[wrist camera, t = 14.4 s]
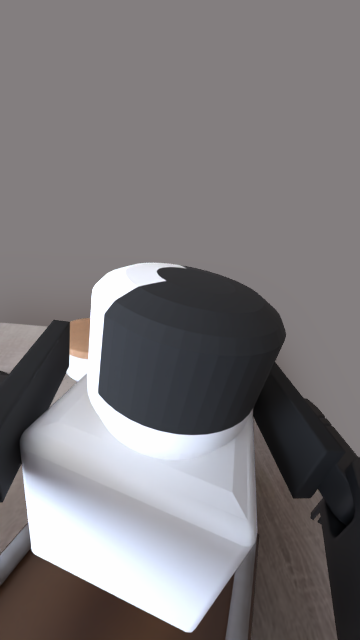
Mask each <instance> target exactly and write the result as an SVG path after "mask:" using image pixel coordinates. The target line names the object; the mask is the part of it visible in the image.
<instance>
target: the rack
mask: <svg viewBox="0 0 360 640" xmlns="http://www.w3.org/2000/svg"><path fill="white" fill-rule="evenodd" d="M258 544H259V534H258V533H257V536H256V541H255V543H254V545H253V546H252V548H251V549H250V551H249V552H248V554H247V555H246V556H245V558H244V559H243V561H242V562H241V564H240V565H239V567H238V568H237V569H236V571H235V572H234V574H233V575H232V577H231V578H230V580H229V581H228V582H227V584H226V585H225V587H224V588H223V590H222V591H221V593H220V594H219V595H218V597H217V598H216V600H215V601H214V603H213V604H212V606H211V607H210V608H209V610H208V611H207V613H206V614H205V616H204V617H203V619H202V620H201V621H200V623H199V624H198V626H197V627H196V629H195V630H193V631H192V632H185V631H183V630H181V629H179V628H177V627H175V626H173V625H171V624H169V623H167V622H165V621H163V620H161V619H159V618H158V617H156V616H154V615H152V614H150V613H148V612H146V611H144V610H142V609H140V608H138V607H136V606H134V605H132V604H130V603H128V602H126V601H125V600H123V599H121V598H119V597H117V596H115V595H113V594H111V593H109V592H107V591H105V590H103V589H101V588H99V587H97V586H95V585H93V584H92V583H90V582H88V581H86V580H84V579H82V578H80V577H78V576H76V575H74V574H72V573H70V572H68V571H66V570H64V569H62V568H60V567H59V566H57V565H55V564H53V563H51V562H49V561H47V560H45V559H43V558H41V557H39V556H37V555H35V554H34V553H33V552H32V548H31V540H30V531H29V522H28V523H27V524H26V525H25V526H24V528H23V529H22V530H21V531H20V532H19V533H18V534H17V536H16V537H15V538H14V539H13V540H12V541H11V542H10V543H9V545H8V546H7V547H6V548H5V549H4V550H3V551H2V552H1V554H0V640H251V631H252V618H253V606H254V594H255V581H256V569H257V556H258Z"/></svg>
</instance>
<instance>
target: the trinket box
mask: <svg viewBox="0 0 360 640" xmlns="http://www.w3.org/2000/svg"><path fill="white" fill-rule="evenodd" d="M90 320H91V318H84V319H78V320H75V321H71V322H70V360H69V368H68V370H67V372H66V373H67V374H68V375H69V376H70V377H71V378H73V379H74V380H76V381H77V382H78V381H79V380H80V379H81V378H82V377H83V376H84V375H85V374H86V373H88V356H89V338H90Z"/></svg>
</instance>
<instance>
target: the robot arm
mask: <svg viewBox="0 0 360 640" xmlns="http://www.w3.org/2000/svg"><path fill="white" fill-rule="evenodd" d="M69 360H70V322H66V321H58V320H53V321H52V323H51V324H50V325H49V326H48V327H47V329H46V330H45V331H44V332H43V334H42V335H41V336H40V337H39V338H38V340H37V341H36V342H35V343H34V344H33V346H32V347H31V348H30V349H29V351H28V352H27V353H26V354H25V355H24V357H23V358H22V359H21V360H20V362H19V363H18V364H17V365H16V366H15V368H14V369H13V370H12V371H11V373H10V374H9V375H1V374H0V502H3V500H4V498H5V496H6V494H7V492H8V490H9V488H10V486H11V484H12V482H13V480H14V478H15V476H16V474H17V472H18V470H19V468H20V466H21V464H22V461H21V452H20V438H21V435H22V434H23V433H24V431H25V430H26V429H27V428H28V427H29V426H30V425H31V424H33V423H34V422H35V421H36V420H37V419H38V418H39V417H40V416H41V415H42V414H43V413H44V412H46V411H47V410H48V409H49V407H50V405H51V402H52V400H53V398H54V396H55V394H56V392H57V390H58V388H59V386H60V384H61V382H62V380H63V378H64V376H65V374H66V372H67V370H68V368H69ZM253 417H254V419H255V421H256V423H257V425H258V427H259V429H260V431H261V433H262V435H263V437H264V439H265V441H266V443H267V445H268V447H269V450H270V452H271V454H272V456H273V458H274V460H275V462H276V464H277V466H278V468H279V470H280V472H281V474H282V476H283V478H284V480H285V482H286V484H287V487H288V489H289V491H290V493H291V495H292V497H293V498H311V497H312V496H313V494H314V493H315V492H316V490H317V489H318V490H319V491H320V493H321V495H322V496H323V498H322V500H321V501H320V502H319V503H318V505H317V506H316V507H315V508H314V510H313V511H312V512H311V517H310V518H311V519H313V520H314V519H315V517H316V516H317V515H318V514H319V513H320V515H321V517H320V518H319V520H318V523H320V524H322V530H323V537H324V544H325V551H326V559H327V566H328V573H329V580H330V587H331V595H332V602H333V609H334V616H335V623H336V630H337V638H338V640H360V457H358V456H357V455H356V454H355V453H354V451H353V450H352V449H351V448H350V446H349V445H348V444H347V443H346V442H345V440H344V439H343V438H342V437H341V436H340V434H339V433H338V432H337V431H336V430H335V428H334V427H332V426H331V424H330V422H329V421H328V420H327V419H325V416H324V415H323V414H322V412H321V411H320V410H319V409H318V408H317V407H316V406H315V405H314V404H313V403H311V402H310V401H309V400H308V399H304V398H303V397H302V396H301V395H300V393H299V392H298V391H297V389H296V388H295V387H294V386H293V385H292V383H291V382H290V380H289V379H288V378H287V377H286V375H285V374H284V373H283V372H282V370H281V369H280V368H279V367H278V365H277V364H276V363H275V362H274V364H273V367H272V369H271V371H270V373H269V375H268V377H267V380H266V382H265V384H264V386H263V388H262V390H261V393H260V395H259V397H258V399H257V401H256V403H255V406H254V408H253Z"/></svg>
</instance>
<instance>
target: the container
mask: <svg viewBox="0 0 360 640" xmlns="http://www.w3.org/2000/svg"><path fill="white" fill-rule="evenodd" d="M91 303H92V304H91V320H90V338H89V356H88V373H86V374H85V375H84V376H83V377H82V378H81V379H80V380H79V381H78V382H77V383H76V384H75V385H74V386H72V387H71V388H70V389H69V390H68V391H67V392H66V393H65V394H64V395H63V396H62V397H61V398H60V399H58V400H57V401H56V402H55V403H54V404H53V405H52V406H51V407H50V408H49V409H48V410H47V411H46V412H44V413H43V414H42V415H41V416H40V417H39V418H38V419H37V420H36V421H35V422H34V423H33V424H31V425H30V426H29V427H28V428H27V429H26V430H25V431H24V433H23V434H22V435H21V438H20V452H21V461H22V470H23V478H24V487H25V496H26V505H27V513H28V522H29V531H30V540H31V548H32V552H33V553H34V554H35V555H37V556H39V557H41V558H43V559H45V560H47V561H49V562H51V563H53V564H55V565H57V566H59V567H60V568H62V569H64V570H66V571H68V572H70V573H72V574H74V575H76V576H78V577H80V578H82V579H84V580H86V581H88V582H90V583H92V584H93V585H95V586H97V587H99V588H101V589H103V590H105V591H107V592H109V593H111V594H113V595H115V596H117V597H119V598H121V599H123V600H125V601H126V602H128V603H130V604H132V605H134V606H136V607H138V608H140V609H142V610H144V611H146V612H148V613H150V614H152V615H154V616H156V617H158V618H159V619H161V620H163V621H165V622H167V623H169V624H171V625H173V626H175V627H177V628H179V629H181V630H183V631H185V632H192V631H193V630H195V629H196V627H197V626H198V624H199V623H200V621H201V620H202V619H203V617H204V616H205V614H206V613H207V611H208V610H209V608H210V607H211V606H212V604H213V603H214V601H215V600H216V598H217V597H218V595H219V594H220V593H221V591H222V590H223V588H224V587H225V585H226V584H227V582H228V581H229V580H230V578H231V577H232V575H233V574H234V572H235V571H236V569H237V568H238V567H239V565H240V564H241V562H242V561H243V559H244V558H245V556H246V555H247V554H248V552H249V551H250V549H251V548H252V546H253V545H254V543H255V541H256V536H257V505H256V479H255V453H254V427H253V408H254V406H255V403H256V401H257V399H258V397H259V395H260V393H261V390H262V388H263V386H264V384H265V382H266V380H267V377H268V375H269V373H270V371H271V369H272V367H273V364H274V362H275V360H276V358H277V356H278V354H279V351H280V349H281V347H282V345H283V343H284V341H285V337H286V332H285V328H284V325H283V323H282V320H281V318H280V315H279V313H278V312H277V311H276V310H275V309H274V308H273V307H272V306H271V305H270V304H269V303H268V302H267V301H266V300H265V299H263V298H262V297H261V296H260V295H258V293H257V292H255V291H254V290H252V289H251V288H249V287H247V286H245V285H243V284H241V283H239V282H237V281H235V280H232V279H229V278H227V277H224V276H221V275H218V274H215V273H212V272H208V271H204V270H201V269H197V268H192V267H187V266H182V265H175V264H166V263H140V264H134V265H131V266H127V267H123V268H120V269H116V270H113V271H111V272H109V273H107V274H106V275H105V276H104V277H103V278H102V279H101V280H100V281H99V282H98V283H96V285H95V286H94V288H93V291H92V302H91Z"/></svg>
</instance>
